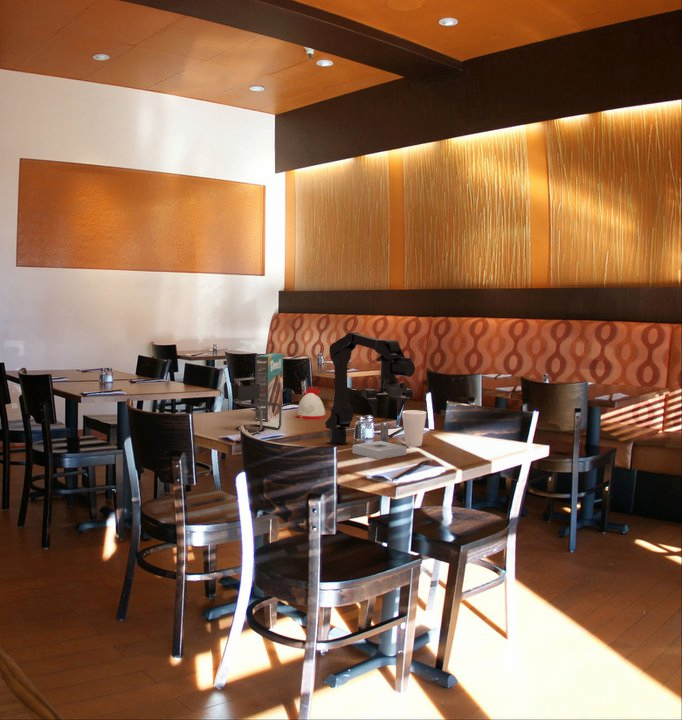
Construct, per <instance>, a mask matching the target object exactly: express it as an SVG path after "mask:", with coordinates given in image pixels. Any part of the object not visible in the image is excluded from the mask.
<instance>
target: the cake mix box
mask: <svg viewBox="0 0 682 720" xmlns="http://www.w3.org/2000/svg"><path fill="white" fill-rule="evenodd" d="M283 363H284V354H283V353H274V352H272V353H270V352H269V353H265V354H261V355H257V356H255V377H257V378H258V379H259V381H260V400H261V401H264V402H271V403H278V404H279V405H280V406H281V409H282V410H283V406H284V405H283V404H284V403H283V402H284V401H283V397H284V396H283V395H284V394H283V392H284V391H283V387H284V385H283V384H284V383H283V381H284V379H283V378H284V364H283ZM255 385H257V380H255ZM254 401H255V403H258V399H254ZM259 407H260V408H261V409H262V419H265V420H262V423H269V422H271V421H273V420H275V418H276V419H277V417H278V418H279V415H278V414H279V408H278V406H273V405H271V406H259ZM254 410H255V413H254V416H255V417H254V418H257V419H254V420H255V421H254V422H257V421H260V411H259V409H256V408H254ZM276 415H277V416H276ZM274 416H275V417H274ZM272 417H273V418H272ZM270 418H271V419H270Z"/></svg>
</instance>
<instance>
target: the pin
mask: <svg viewBox="0 0 682 720" xmlns="http://www.w3.org/2000/svg"><path fill="white" fill-rule="evenodd" d="M379 437H380V440H379V441H383V442H387V443H389V422H387V421H386V422H385V421H383V422H382V421H381V422H380V436H379Z"/></svg>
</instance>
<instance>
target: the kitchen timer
mask: <svg viewBox="0 0 682 720" xmlns="http://www.w3.org/2000/svg"><path fill="white" fill-rule="evenodd" d="M320 391H321V389H319V390H318V387H317V386H316V387H315V388H314V386H312V388H311V386H310V385H309V386H308V388H305V390H302V392H303V395H304V396H303V397H302V398H301V400H300V401H299V404H298V406H297V409H296V419H299V418H303V419H302V420H307V419H316V420H321V419H320V418H324V419H326V409H325V406H324V402H323V401H322V399H321V398H320V397H319V396H318V395H319V393H320ZM297 415H298V416H297ZM300 416H303V417H300ZM321 416H323V417H321Z"/></svg>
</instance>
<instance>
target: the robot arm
mask: <svg viewBox="0 0 682 720" xmlns="http://www.w3.org/2000/svg"><path fill="white" fill-rule="evenodd" d="M357 345H358V346H361V347H364V348H368V349H371V350H374V352H376V353H377V354H379V356H378V357H377V358H376V362H380V375H379V376H378V377H379V378H378V379H379V380H380V382H379V387H378V390H377V389H374V388H363V389H362V390H361V395H360V396H361V397H363V398H364V399H365V400H367V402H368V404H369V405H370V408H371V411H372V414H373V416H374V417H375V418H376V417H377V415H378V413H377V409H378V407H377V403H378V398H377V397H379V396H380V397H382V396H383V397H385V396H388V397H390V398H394V397H396V416H397V417H400V416H401V413H402V410H403V408H404V406H405V404H406V402H407V401H409V400H411V398H414V394H415V392H414V390H413V389H411V388H408V386H407V385H408V384H407V382H401V383H399V382H398V380H399V379H398V377H397V376H400V377H406V378H408V377H409V378H411V377H413V375H414V373H415V372H416V371H415V370H416V366H415V363H414V362H413V361H412V357H406V356H405V354H404V352H403V350H402V348H401V346H400V343H399V341H398V340H396V339H380V338H376V337H373V336H369V335H366V334H362V333H359V332H355V331H354V332H348V333H346V334H345V335H344V336H342V337H341V338H339V339H338V340H336V341H335V342H333V343H331V345H330V346H329V349H328V350H329V355H330V360H331V362H332V364H333V367H334V403H333V406H332V407H331V409H330V416H329V418H328V419H327V420H326V421H325V423H324V424H325V428H326V429H329V440H328V441H326V443H327V444H331V445H334V446H338V445H346V444H350V442H349V441H347V428H350V427H351V423H352V421H353V419H354V417H355V416H354V406H353V405H350V403H349V400H348V397H349V394H348V365H349V363H350V360H351V358H352V352H353V351H354V350H355V349H356V348H357Z"/></svg>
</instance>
